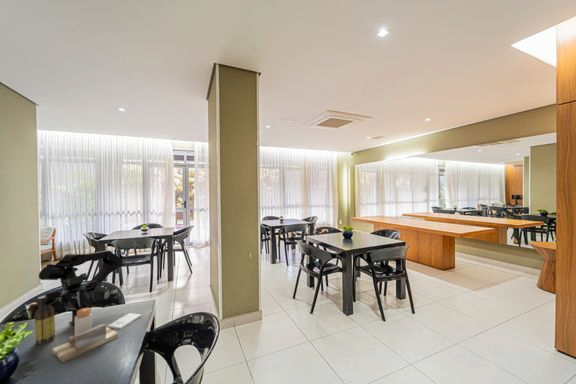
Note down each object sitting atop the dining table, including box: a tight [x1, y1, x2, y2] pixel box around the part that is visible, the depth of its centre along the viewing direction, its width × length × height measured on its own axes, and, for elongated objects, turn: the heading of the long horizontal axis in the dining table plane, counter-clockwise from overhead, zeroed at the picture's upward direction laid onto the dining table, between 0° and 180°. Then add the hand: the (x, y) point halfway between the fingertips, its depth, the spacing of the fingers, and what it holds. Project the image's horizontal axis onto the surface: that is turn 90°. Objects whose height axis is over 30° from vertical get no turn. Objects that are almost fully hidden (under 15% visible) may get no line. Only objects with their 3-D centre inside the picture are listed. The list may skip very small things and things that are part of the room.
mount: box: [52, 323, 119, 363], centre depth 103 cm, size 12×19×8 cm, turn 149°
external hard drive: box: [106, 312, 142, 330], centre depth 121 cm, size 2×8×12 cm
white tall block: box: [74, 308, 93, 336], centre depth 105 cm, size 5×5×12 cm
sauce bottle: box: [34, 294, 56, 345], centre depth 105 cm, size 6×6×20 cm
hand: (77, 307), depth 108 cm, fingers closed
